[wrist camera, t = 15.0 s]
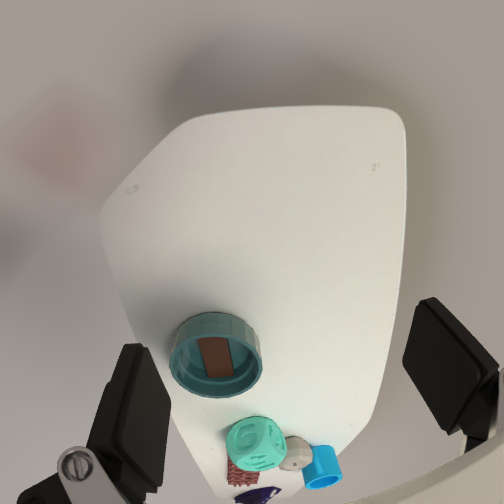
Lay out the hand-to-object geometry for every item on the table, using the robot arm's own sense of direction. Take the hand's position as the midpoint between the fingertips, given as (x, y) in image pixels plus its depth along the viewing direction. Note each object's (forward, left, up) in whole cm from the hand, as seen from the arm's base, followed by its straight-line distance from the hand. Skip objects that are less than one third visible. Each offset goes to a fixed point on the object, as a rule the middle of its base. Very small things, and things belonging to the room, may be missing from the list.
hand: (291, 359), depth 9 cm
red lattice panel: (+44, -39, -25) cm, 64 cm away
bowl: (+12, -16, -25) cm, 32 cm away
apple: (+42, -25, -25) cm, 54 cm away
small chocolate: (+12, -16, -24) cm, 31 cm away
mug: (+51, -24, -25) cm, 61 cm away
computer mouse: (+63, -51, -25) cm, 85 cm away
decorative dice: (+32, -26, -25) cm, 48 cm away
